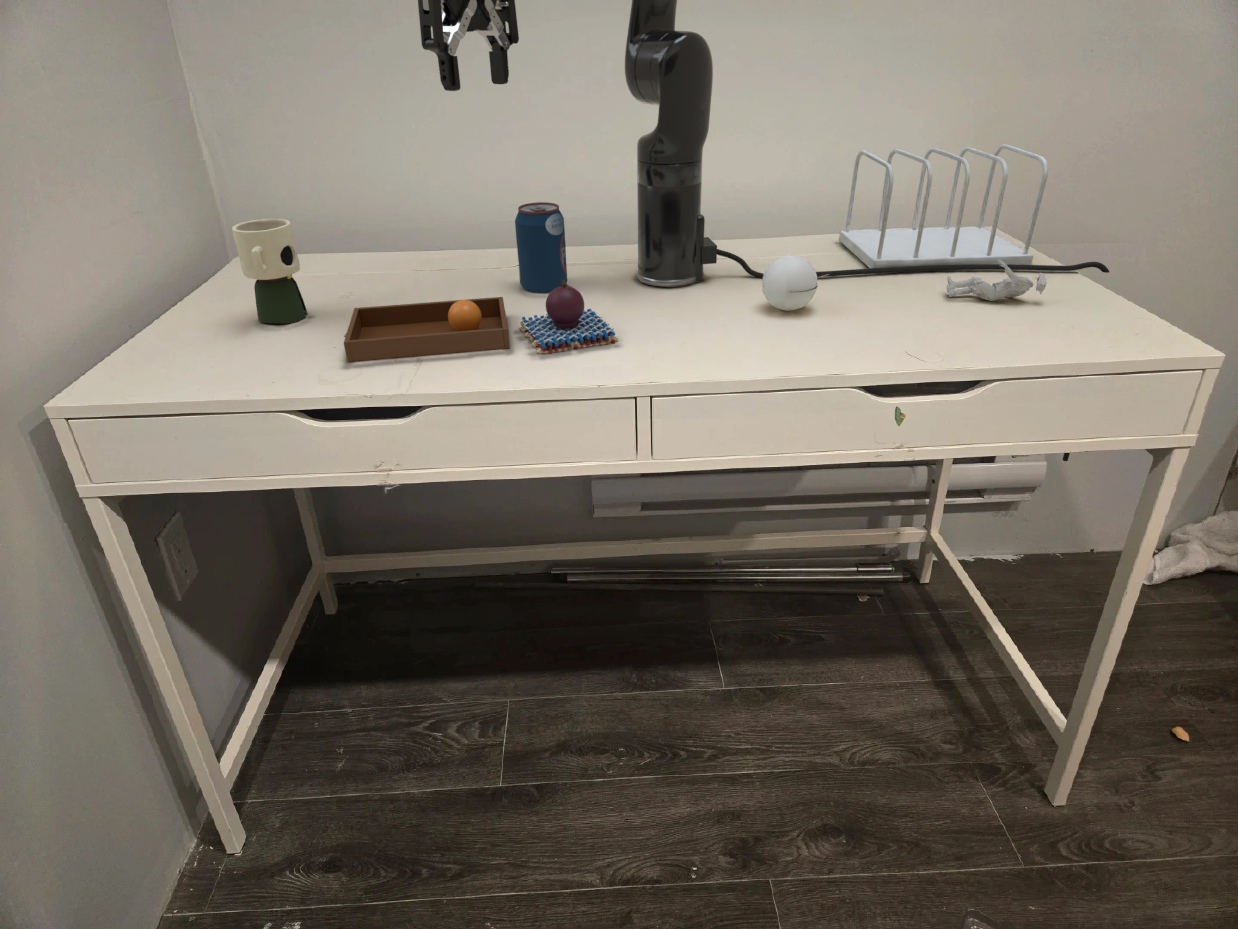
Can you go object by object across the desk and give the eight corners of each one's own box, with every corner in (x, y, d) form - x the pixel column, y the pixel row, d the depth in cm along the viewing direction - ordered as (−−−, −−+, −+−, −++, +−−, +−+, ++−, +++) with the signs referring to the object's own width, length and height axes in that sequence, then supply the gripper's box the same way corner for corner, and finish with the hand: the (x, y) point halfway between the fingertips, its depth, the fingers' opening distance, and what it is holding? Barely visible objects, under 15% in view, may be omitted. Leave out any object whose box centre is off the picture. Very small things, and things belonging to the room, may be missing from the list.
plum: (582, 315, 104) (580, 272, 101) (587, 329, 100) (585, 284, 97) (545, 318, 103) (542, 275, 100) (548, 332, 99) (545, 287, 96)
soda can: (576, 291, 119) (571, 207, 112) (533, 300, 116) (526, 215, 109) (554, 279, 124) (549, 198, 118) (513, 287, 121) (505, 205, 115)
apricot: (482, 325, 106) (479, 294, 104) (483, 337, 102) (480, 305, 100) (450, 328, 105) (446, 296, 103) (450, 339, 102) (445, 307, 100)
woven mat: (593, 319, 109) (592, 304, 108) (620, 347, 100) (620, 331, 99) (517, 330, 106) (515, 315, 105) (538, 360, 97) (537, 344, 96)
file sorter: (872, 273, 123) (887, 165, 115) (837, 242, 138) (848, 145, 130) (1032, 266, 125) (1057, 159, 117) (980, 236, 139) (1000, 140, 132)
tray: (504, 318, 109) (502, 296, 108) (510, 352, 99) (507, 328, 98) (358, 330, 107) (354, 307, 105) (348, 366, 96) (343, 342, 95)
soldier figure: (944, 295, 117) (1034, 271, 114) (953, 325, 115) (1044, 301, 112) (946, 269, 110) (1042, 243, 107) (956, 301, 108) (1053, 275, 105)
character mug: (303, 334, 106) (280, 234, 99) (246, 337, 105) (219, 237, 99) (318, 306, 115) (298, 213, 109) (267, 309, 115) (243, 215, 108)
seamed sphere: (773, 321, 107) (777, 266, 103) (751, 303, 113) (755, 250, 109) (842, 313, 109) (849, 259, 105) (818, 296, 115) (823, 244, 111)
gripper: (439, -75, 85) (458, 94, 93) (527, -70, 95) (537, 82, 103) (390, -71, 89) (412, 91, 97) (480, -67, 99) (493, 80, 107)
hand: (477, 86), depth 100 cm, fingers open, 8 cm apart
